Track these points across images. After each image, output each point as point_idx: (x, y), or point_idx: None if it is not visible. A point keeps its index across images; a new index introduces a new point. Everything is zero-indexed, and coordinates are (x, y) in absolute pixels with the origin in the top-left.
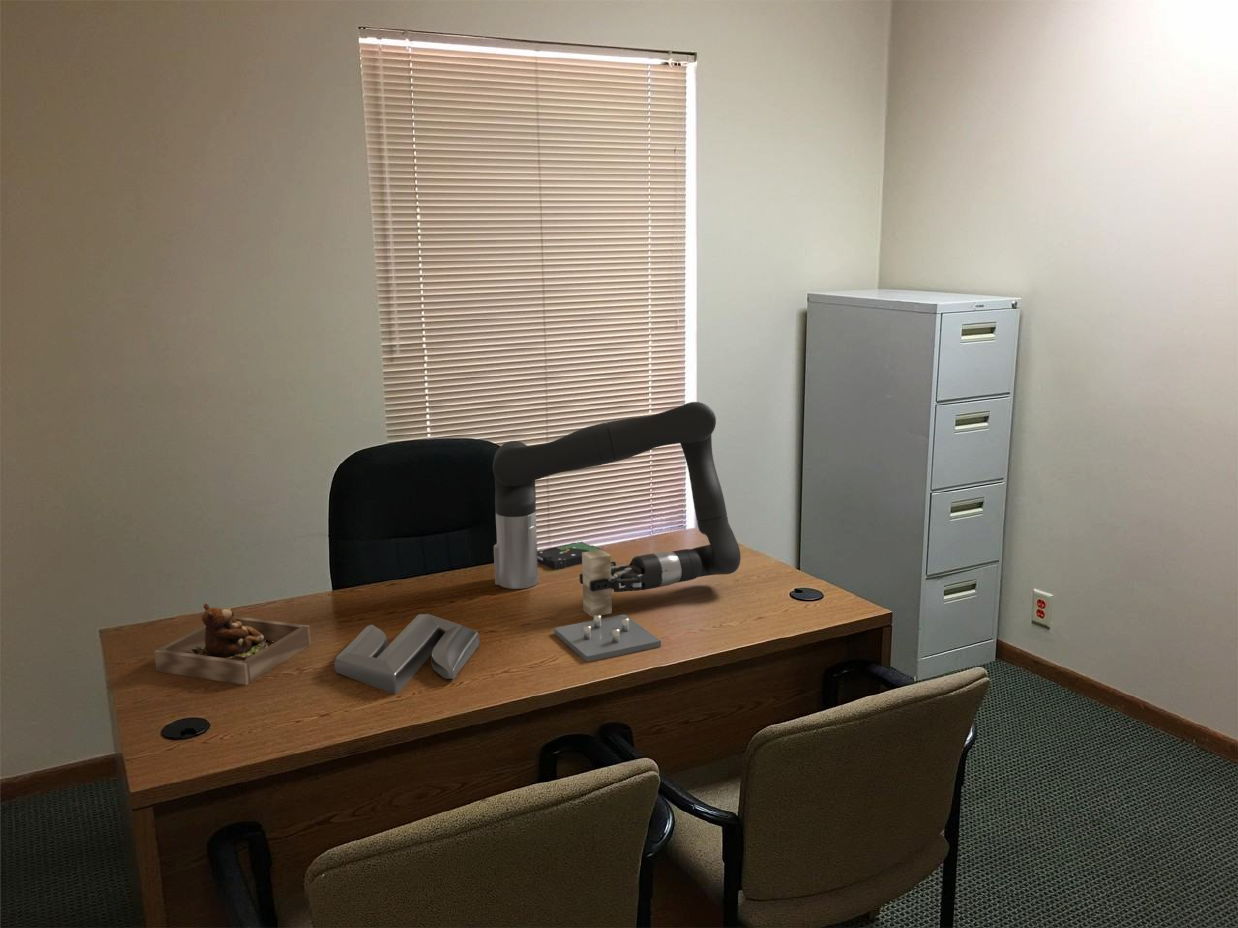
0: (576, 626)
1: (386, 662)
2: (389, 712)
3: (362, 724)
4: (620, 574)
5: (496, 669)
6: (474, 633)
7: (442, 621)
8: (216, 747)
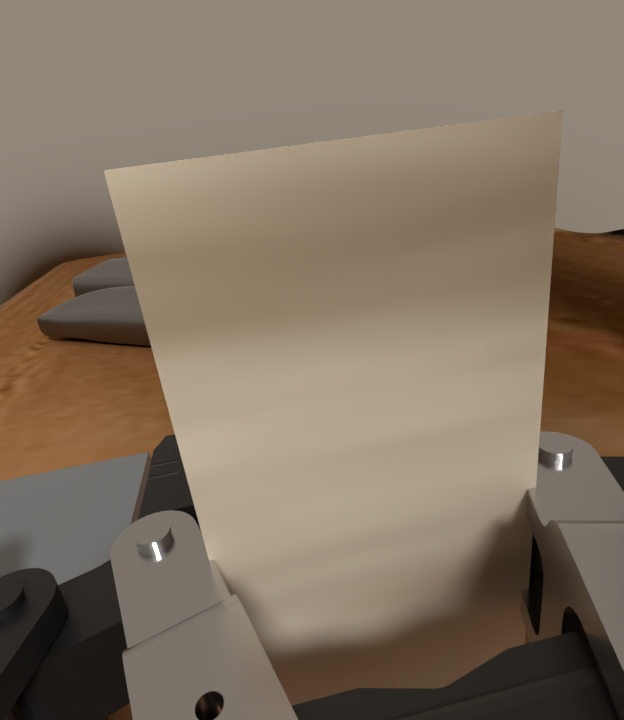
0: (94, 522)
1: (102, 262)
2: (29, 314)
3: (26, 305)
4: (130, 705)
5: (34, 378)
6: None
7: None
8: (94, 266)
